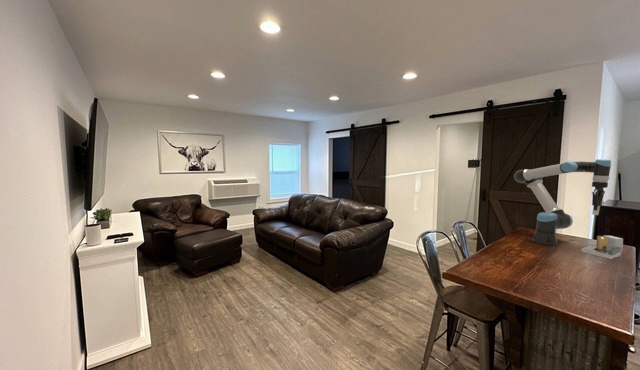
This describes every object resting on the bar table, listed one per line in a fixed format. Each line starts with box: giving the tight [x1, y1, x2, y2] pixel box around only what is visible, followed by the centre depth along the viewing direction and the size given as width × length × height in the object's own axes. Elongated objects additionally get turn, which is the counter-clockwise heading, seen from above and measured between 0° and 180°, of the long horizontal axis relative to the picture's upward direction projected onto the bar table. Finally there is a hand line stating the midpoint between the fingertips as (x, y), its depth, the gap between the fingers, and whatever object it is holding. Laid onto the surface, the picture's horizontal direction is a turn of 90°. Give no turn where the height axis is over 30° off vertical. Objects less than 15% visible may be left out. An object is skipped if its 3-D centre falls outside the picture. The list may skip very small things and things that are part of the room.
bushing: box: [595, 235, 608, 252], centre depth 180 cm, size 5×5×12 cm
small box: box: [603, 235, 624, 254], centre depth 185 cm, size 8×6×10 cm
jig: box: [580, 245, 622, 260], centre depth 180 cm, size 15×15×6 cm
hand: (595, 214), depth 184 cm, fingers closed
